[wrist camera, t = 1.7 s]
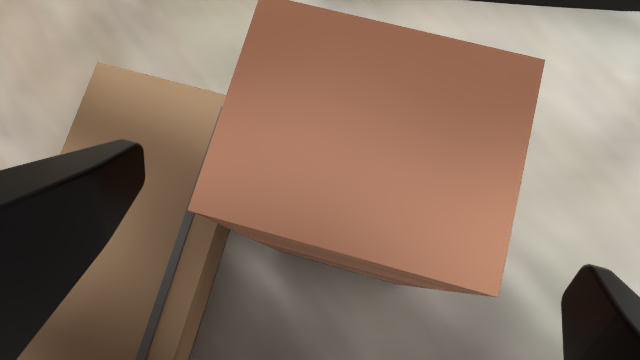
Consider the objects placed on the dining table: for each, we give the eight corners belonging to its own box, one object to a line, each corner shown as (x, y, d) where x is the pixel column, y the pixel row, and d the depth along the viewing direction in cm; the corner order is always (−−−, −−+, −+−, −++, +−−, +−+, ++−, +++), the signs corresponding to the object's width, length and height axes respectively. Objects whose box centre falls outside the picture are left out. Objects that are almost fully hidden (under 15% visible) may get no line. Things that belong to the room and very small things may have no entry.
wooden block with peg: (399, 284, 18) (498, 297, 7) (275, 249, 18) (187, 210, 7) (444, 95, 19) (583, -135, 8) (329, 67, 20) (321, -186, 9)
